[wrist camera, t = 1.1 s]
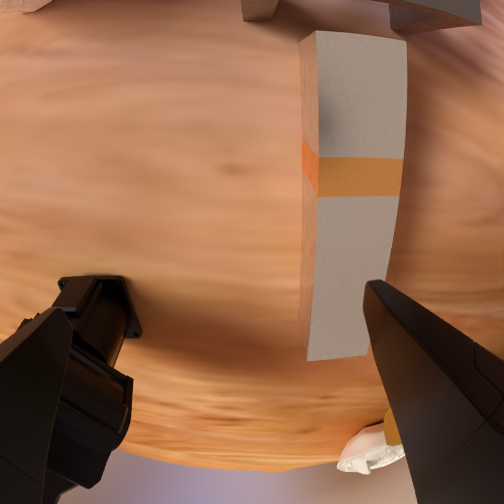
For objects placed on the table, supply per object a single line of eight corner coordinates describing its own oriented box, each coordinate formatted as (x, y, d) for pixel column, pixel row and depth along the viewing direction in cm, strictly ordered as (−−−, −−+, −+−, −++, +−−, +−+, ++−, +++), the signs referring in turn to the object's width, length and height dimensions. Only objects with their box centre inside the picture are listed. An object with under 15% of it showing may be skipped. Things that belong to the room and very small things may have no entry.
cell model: (412, 426, 39) (423, 461, 33) (341, 451, 41) (347, 487, 36) (409, 400, 34) (424, 442, 28) (324, 430, 37) (331, 473, 31)
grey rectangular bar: (350, 310, 25) (366, 354, 21) (298, 314, 25) (306, 361, 21) (369, 47, 15) (406, 41, 11) (298, 42, 15) (315, 30, 11)
